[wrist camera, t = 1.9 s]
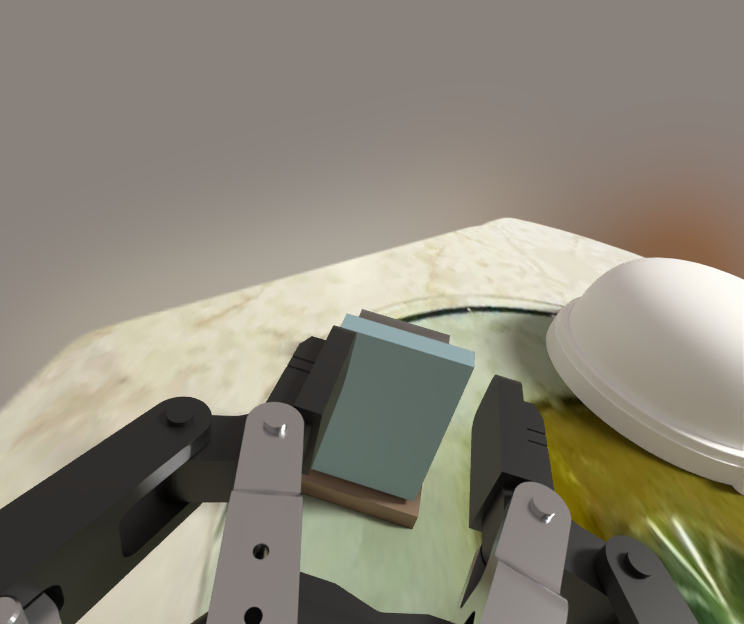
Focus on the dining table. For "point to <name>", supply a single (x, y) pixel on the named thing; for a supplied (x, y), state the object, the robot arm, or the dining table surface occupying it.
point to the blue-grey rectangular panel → (392, 408)
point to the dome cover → (661, 361)
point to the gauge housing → (359, 494)
